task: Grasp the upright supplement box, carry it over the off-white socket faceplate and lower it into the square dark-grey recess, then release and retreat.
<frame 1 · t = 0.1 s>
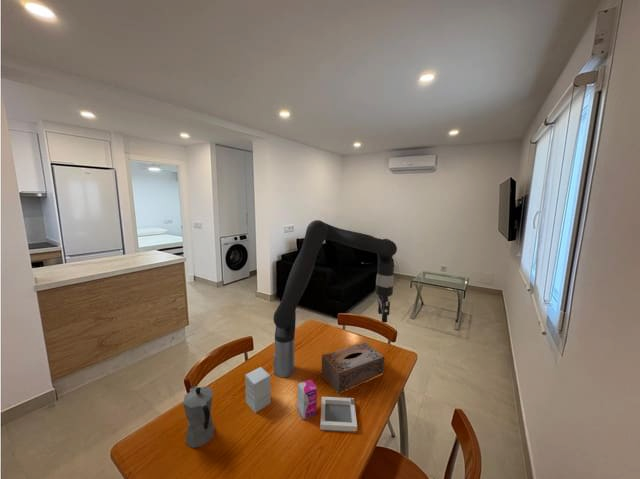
hand: (382, 317, 115), 29 cm above the table, fingers open, 8 cm apart
socket plate: (337, 416, 96), on the table
coffeepot: (201, 438, 86), on the table
tissue box cover: (352, 375, 119), on the table
supplement box: (306, 412, 97), on the table
supplement box 2: (258, 403, 101), on the table
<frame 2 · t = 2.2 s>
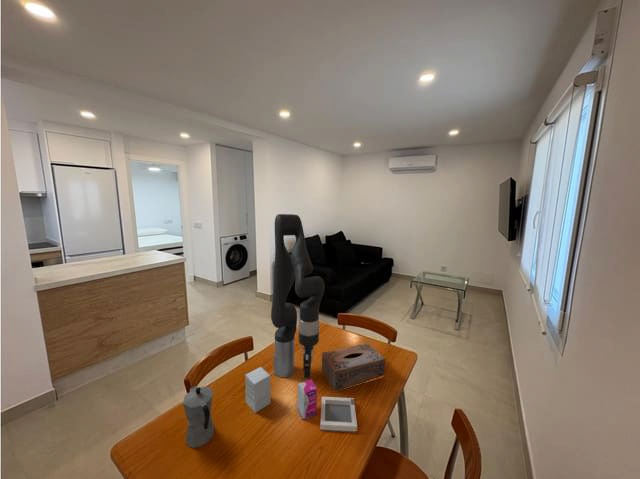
hand: (308, 369, 95), 18 cm above the table, fingers open, 8 cm apart
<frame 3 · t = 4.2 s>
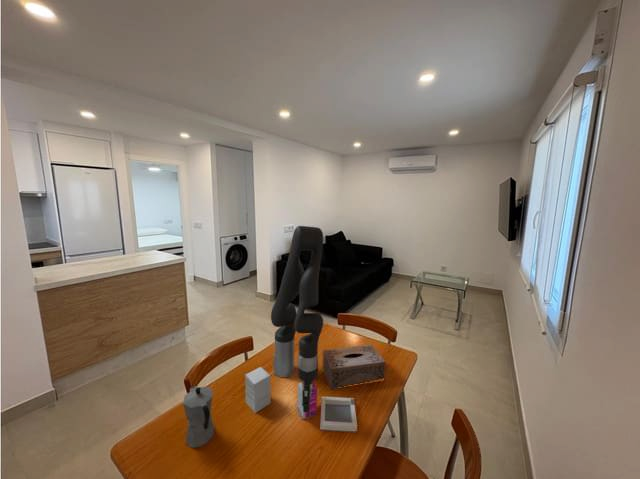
hand: (307, 403, 96), 4 cm above the table, fingers closed on supplement box, 7 cm apart
supplement box: (307, 412, 97), on the table, touching gripper
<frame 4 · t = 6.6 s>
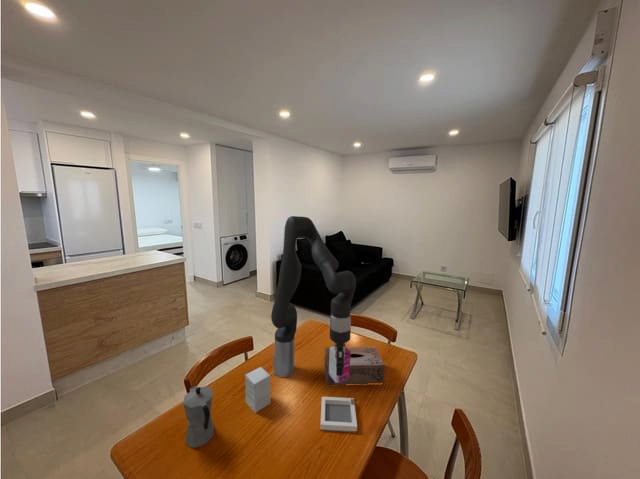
hand: (339, 367, 93), 20 cm above the table, fingers closed on supplement box, 7 cm apart
supplement box: (339, 378, 93), point 16 cm above the table, touching gripper
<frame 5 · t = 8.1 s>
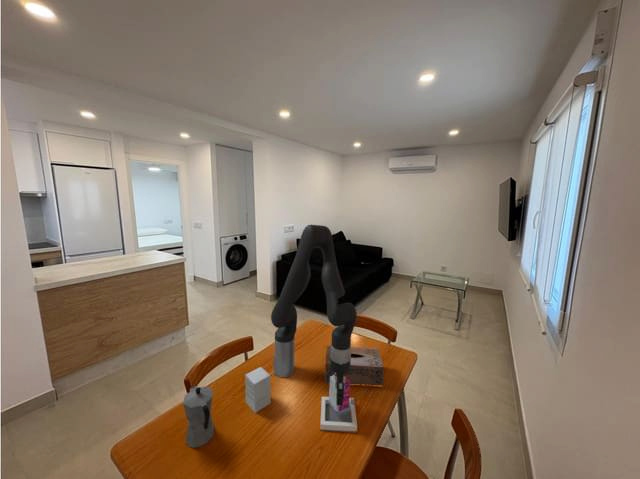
hand: (339, 396, 95), 8 cm above the table, fingers closed on supplement box, 7 cm apart
supplement box: (338, 406, 95), point 4 cm above the table, touching gripper
when the fingers open (5 cm above the table, at t = 9.3 s): supplement box stays where it is, resting on socket plate.
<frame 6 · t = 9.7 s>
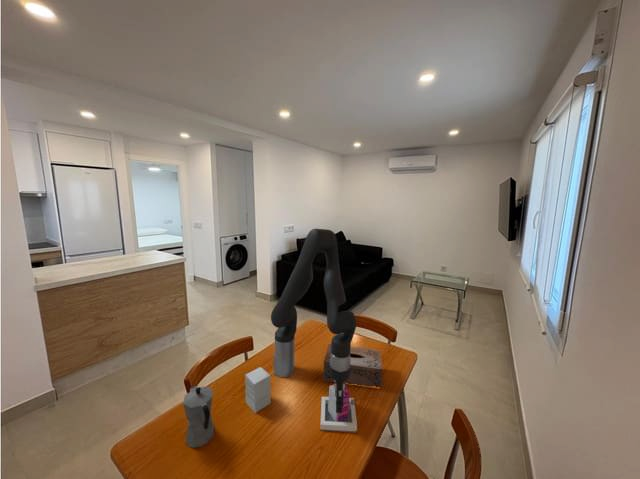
hand: (338, 403, 95), 6 cm above the table, fingers open, 8 cm apart
supplement box: (337, 415, 96), resting on socket plate
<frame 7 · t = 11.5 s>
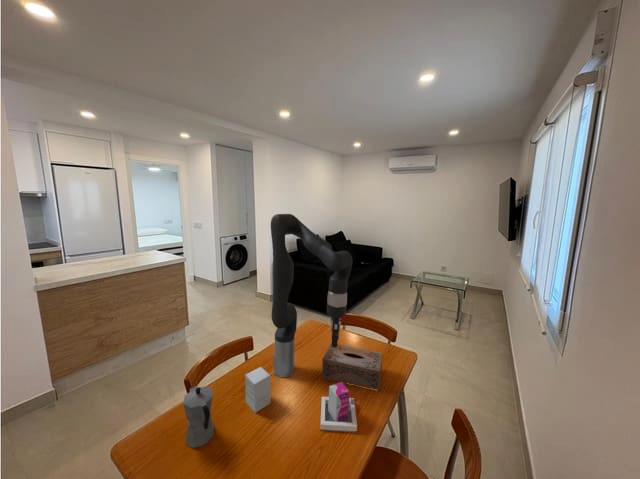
hand: (334, 340, 99), 26 cm above the table, fingers open, 8 cm apart
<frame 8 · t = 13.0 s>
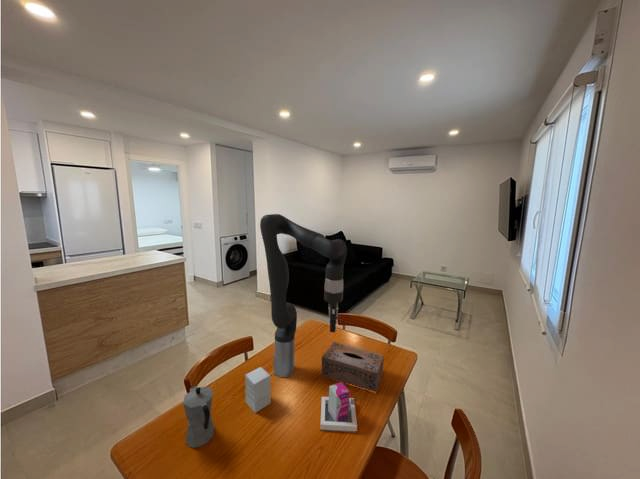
hand: (332, 326, 103), 30 cm above the table, fingers open, 8 cm apart
at the end: supplement box 0.1 cm off-centre on the socket plate, point 0.2 cm above the socket plate's base; supplement box tilted 0°; the gripper is holding nothing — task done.
